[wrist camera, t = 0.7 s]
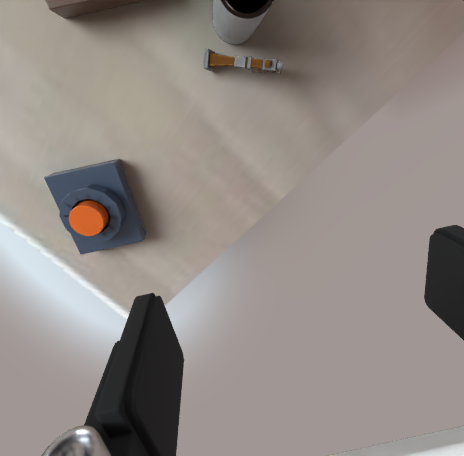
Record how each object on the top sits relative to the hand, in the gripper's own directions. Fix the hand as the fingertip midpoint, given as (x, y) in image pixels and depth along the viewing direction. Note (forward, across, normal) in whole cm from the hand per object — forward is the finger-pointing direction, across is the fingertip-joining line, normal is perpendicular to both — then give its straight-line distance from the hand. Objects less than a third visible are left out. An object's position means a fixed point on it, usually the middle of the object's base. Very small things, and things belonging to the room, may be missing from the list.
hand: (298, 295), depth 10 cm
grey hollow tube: (+28, -3, -13) cm, 31 cm away
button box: (+27, +17, +2) cm, 32 cm away
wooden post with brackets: (+28, -3, -9) cm, 29 cm away
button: (+24, +17, +2) cm, 29 cm away
